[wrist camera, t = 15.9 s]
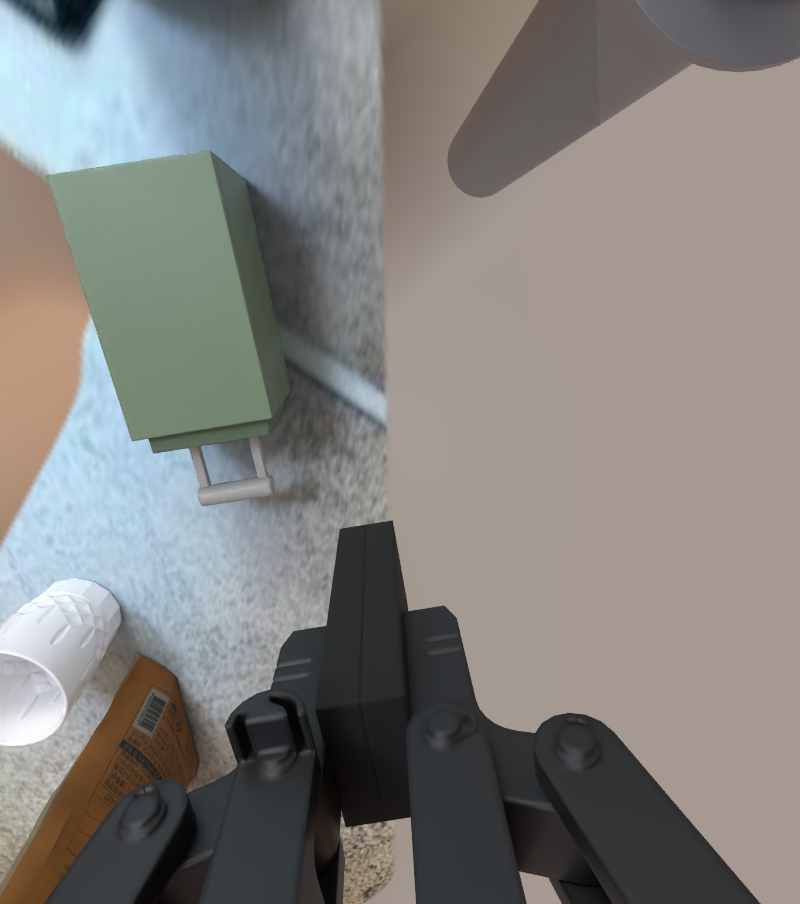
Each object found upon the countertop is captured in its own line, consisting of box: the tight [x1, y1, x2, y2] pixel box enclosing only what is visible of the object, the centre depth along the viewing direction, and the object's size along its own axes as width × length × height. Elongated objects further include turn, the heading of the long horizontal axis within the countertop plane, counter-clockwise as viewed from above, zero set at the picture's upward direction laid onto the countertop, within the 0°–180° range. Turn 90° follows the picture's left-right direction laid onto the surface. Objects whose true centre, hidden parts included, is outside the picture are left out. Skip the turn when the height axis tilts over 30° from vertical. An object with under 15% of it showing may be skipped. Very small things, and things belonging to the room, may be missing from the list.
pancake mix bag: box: [0, 654, 199, 904], centre depth 36 cm, size 7×19×28 cm, turn 6°
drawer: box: [149, 402, 285, 506], centre depth 35 cm, size 18×7×7 cm, turn 9°
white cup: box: [0, 578, 121, 746], centre depth 40 cm, size 8×8×10 cm
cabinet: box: [47, 150, 291, 441], centre depth 34 cm, size 15×9×9 cm, turn 9°
